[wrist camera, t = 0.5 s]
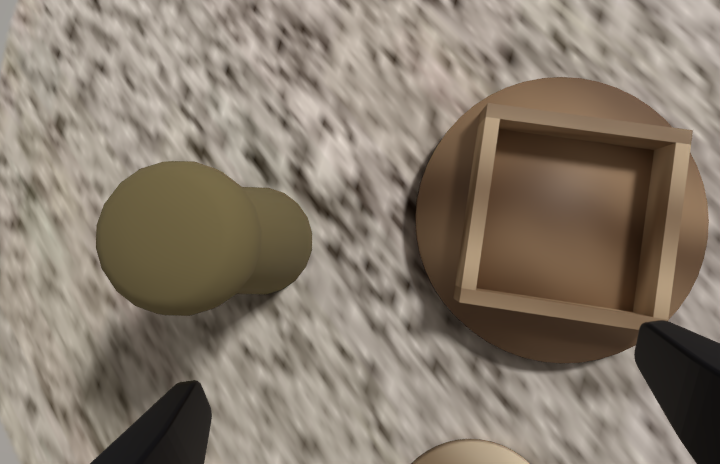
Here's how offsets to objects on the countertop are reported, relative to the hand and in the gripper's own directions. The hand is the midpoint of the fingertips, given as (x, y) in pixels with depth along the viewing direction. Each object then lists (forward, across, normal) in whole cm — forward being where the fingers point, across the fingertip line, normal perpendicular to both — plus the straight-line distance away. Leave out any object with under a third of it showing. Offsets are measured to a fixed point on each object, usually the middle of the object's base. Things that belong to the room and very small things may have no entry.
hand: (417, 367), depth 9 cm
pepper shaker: (+15, +7, +4) cm, 17 cm away
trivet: (+14, -9, +4) cm, 17 cm away
